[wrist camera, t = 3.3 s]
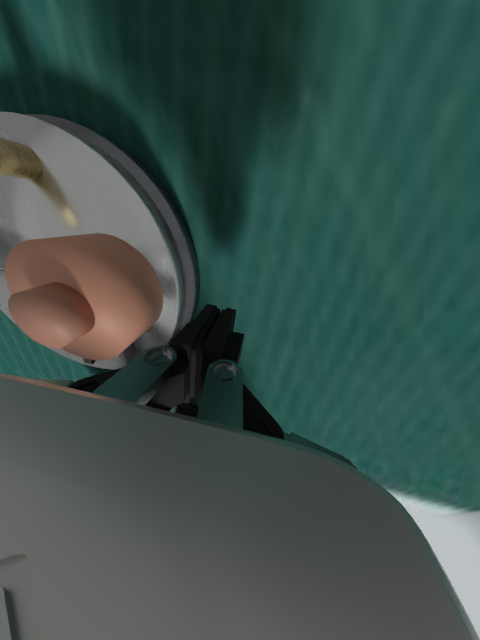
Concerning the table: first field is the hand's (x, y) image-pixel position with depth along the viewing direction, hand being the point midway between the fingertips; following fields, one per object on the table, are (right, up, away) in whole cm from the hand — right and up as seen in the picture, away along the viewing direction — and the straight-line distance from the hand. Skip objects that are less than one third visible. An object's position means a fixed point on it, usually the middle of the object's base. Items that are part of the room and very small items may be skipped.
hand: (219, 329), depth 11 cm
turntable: (-11, +4, +4) cm, 12 cm away
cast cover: (-7, +3, +2) cm, 8 cm away
